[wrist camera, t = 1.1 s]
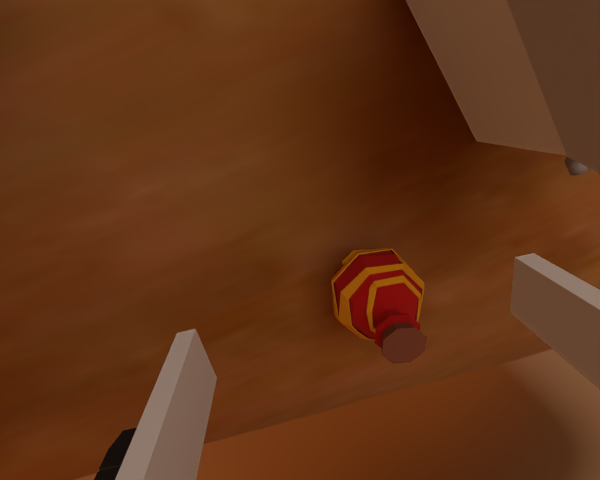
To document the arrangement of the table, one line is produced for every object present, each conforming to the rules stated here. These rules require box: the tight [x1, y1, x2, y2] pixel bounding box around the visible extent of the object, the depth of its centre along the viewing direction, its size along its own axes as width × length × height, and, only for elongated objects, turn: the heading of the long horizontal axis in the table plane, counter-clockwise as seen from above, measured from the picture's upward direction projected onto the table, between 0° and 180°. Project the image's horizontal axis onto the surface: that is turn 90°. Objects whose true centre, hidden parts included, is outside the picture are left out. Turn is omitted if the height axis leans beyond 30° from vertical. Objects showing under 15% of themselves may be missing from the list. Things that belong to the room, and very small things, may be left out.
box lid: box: [507, 0, 600, 173], centre depth 14 cm, size 21×14×1 cm
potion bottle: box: [331, 248, 426, 363], centre depth 34 cm, size 10×10×15 cm
